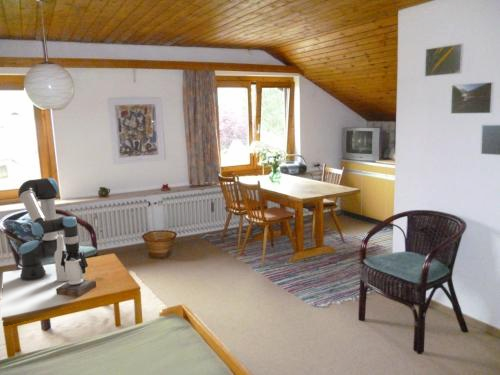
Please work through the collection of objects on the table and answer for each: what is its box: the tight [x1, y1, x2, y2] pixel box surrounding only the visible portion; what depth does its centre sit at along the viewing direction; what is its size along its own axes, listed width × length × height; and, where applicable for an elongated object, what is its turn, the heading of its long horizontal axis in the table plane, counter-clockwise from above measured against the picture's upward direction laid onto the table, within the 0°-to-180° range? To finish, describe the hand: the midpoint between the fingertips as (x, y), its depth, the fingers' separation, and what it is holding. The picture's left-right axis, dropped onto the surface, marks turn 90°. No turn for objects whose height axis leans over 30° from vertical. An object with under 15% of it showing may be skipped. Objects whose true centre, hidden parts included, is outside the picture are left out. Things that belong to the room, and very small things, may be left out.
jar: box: [64, 256, 84, 284], centre depth 261 cm, size 11×10×15 cm
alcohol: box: [53, 234, 69, 283], centre depth 279 cm, size 9×9×30 cm
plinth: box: [55, 279, 97, 298], centre depth 263 cm, size 16×16×4 cm
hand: (75, 277), depth 262 cm, fingers closed on jar, 10 cm apart
